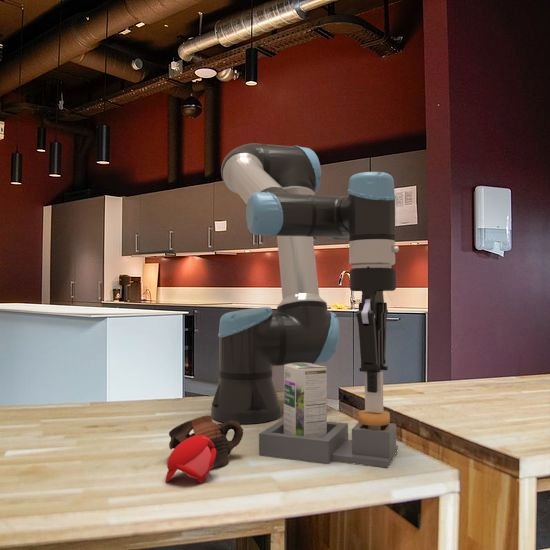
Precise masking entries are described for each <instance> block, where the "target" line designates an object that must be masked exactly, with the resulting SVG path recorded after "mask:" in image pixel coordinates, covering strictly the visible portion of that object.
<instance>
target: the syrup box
mask: <svg viewBox="0 0 550 550" xmlns="http://www.w3.org/2000/svg"><path fill="white" fill-rule="evenodd" d="M283 367H284V368H283V374H284V376H283V419H284V434H290V435H299V436H308V437H318V438H323V437H324V436H325V435H326V434H327V422H328V420H327V418H328V412H327V411H328V409H327V407H328V397H327V396H328V393H327V392H328V390H327V389H328V385H327V384H328V380H327V379H328V376H327V375H328V370H327V369H328V368H327V367H328V366H324V365H318V364H311V363H290V364H286V365H283Z"/></svg>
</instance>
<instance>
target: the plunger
mask: <svg viewBox="0 0 550 550" xmlns="http://www.w3.org/2000/svg"><path fill="white" fill-rule="evenodd" d="M390 414H391V413H390V412H389V411H388V410H384V409H383V412H382V413H376V412H365V409H362V410H358V422H359V423H361V424H365V425H368V429H374V430H381V427H380V426H382V425H387V424H389V423H391V422H390V421H391V419H390V417H391V415H390Z"/></svg>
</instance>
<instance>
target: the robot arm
mask: <svg viewBox="0 0 550 550" xmlns="http://www.w3.org/2000/svg"><path fill="white" fill-rule="evenodd" d="M220 167H221V168H220V174H221V179H222V181H223V183H224V184H225V186H226V187H227V188H228V190H230V191H231V192H233V193H235V194H238V195H239V197H240V198H241V199H242V201H243V202H244V204H246V209H245V219H246V220H245V221H246V222H245V223H246V225H247V230H248V231H249V232H250V233H251V234H252V235H254V236H256V235H257V236H265V237H267V238H268V237H269V238H271V237H276V239H277V251H278V263H279V274H280V287H281V297H282V300H281V302H280V303H278V305H277V306H276V313H275V312H273V309H272V307H269V306H267V307H266V306H264V307H262V306H261V307H253V308H247V309H246V308H245V309H240V310H239V309H238V310H234V311H230V312H226V313H224V314H222V315H221V316H220V318H219V319H220V320H219V326H218V327H219V329H218V334H217V337H218V338H219V339H218V340H219V341H218V343H219V345H218V349H219V350H218V353H219V354H218V361H219V362H218V364H219V365H218V366H219V367H218V371H219V373H218V374H219V375H218V384H217V388H216V391H215V394H214V397H213V400H212V403H211V407H210V410H211V412H210V416H211V418H212V420H215V421H217V422H221V423H224V422H227V421H231V420H234V421H237V422H238V423H239V424H240V425H241V424H245V425H246V424H247V425H248V424H258V423H267V422H271V421H274V420H277V419H279V418H280V417H281V414H282V413H281V411H282V410H281V409H282V408H281V403H280V399H279V397H278V393H277V390H276V388H275V387H276V386H275V384H274V380H273V367H276V366H277V367H278V366H284V365H286V364H290V363H311V364H315V365H318V364H325V363H328V362H330V361H331V360H332V359H333V357H334V356H335V354H336V352H337V350H338V346H339V343H340V322H339V319H338V316H337V314H336V313H334V312H332V311H328V303H327V301H326V300H324V299H323V297H322V298H321V296H320V289H319V282H318V272H317V264H316V263H317V261H316V253H315V246H314V238H328V239H331V240H343V241H345V240H348V244H349V245H348V247H349V248H348V249H349V250H348V252H349V253H348V255H349V256H348V257H349V258H348V263H349V265H350V266H352V268H351V269H350V270H349V290H350V291H351V292H361V299H360V301H361V302H359V303H358V310H356V311H357V312H356V317H357V318H356V320H357V323H358V324H357V325H358V326H357V327H358V336H359V338H358V339H359V351H360V367H359V370H358V371H359V372H364V410H365V412H376V413H382V412H383V410H384V371H389V370H388V367H389V366H387V365H386V348H387V347H386V346H387V343H386V342H387V321H388V313H389V311H388V304H387V302H385V299H384V292H394V291H395V290H396V289H397V270H395V268H394V267H392V266H394V265H395V264H396V254H395V253H398V252H399V251H400V247H399V246H397V245H396V199H397V198H396V197H397V196H396V194H395V180H394V177H393V175H391V174H389V173H386V172H384V171H383V172H382V171H364V172H358V173H355V174H353V175H351V176H350V178H349V180H348V187H347V193H348V194H346V195H341V196H339V195H320V194H318V195H317V193H318V191H319V189H320V187H321V181H322V179H321V177H322V168H321V163H320V160H319V157H318V155H317V154H316V152H315V151H314V150H312V149H311V148H309V147H303V146H299V145H280V144H278V145H277V144H269V143H267V144H266V143H257V142H256V143H255V142H252V143H251V142H250V143H247V144H246V143H245V144H243V145H240V146H238V147H237V146H236V147H235V148H234V149H232V150H230V151H229V153H227V155H226V156H225V157H224V158H223V160H222V164H221V166H220Z"/></svg>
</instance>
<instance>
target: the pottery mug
mask: <svg viewBox="0 0 550 550" xmlns="http://www.w3.org/2000/svg"><path fill="white" fill-rule="evenodd" d="M192 430H193V433H191V431H192ZM231 430H233V436H232V438H231V440H228V438H227V436H228V434H229V431H231ZM190 433H191V434H190ZM195 435H205V436H207V437H208V438H209V439H210V441H212V443H213V444H214V448H215V449H216V457H215V460H214V463H213V465H212V467H211V469H213V468H214V467H217V466H218V467H219V466H223V465H226V464H229V462H230V461H229V456H230V455H231V453H232V451H233V450H234V448H236V447H238V445H240V443H241V441H242V439H243V436H244V429H243V427H242V425H241V424H239V423H238V422H237V421H234V420H231V421H227V422H221V423H217V422H214V421H213V418H212V417H211V415H208V414H207V415H203V416H199V417H195V418H193V419H191V420H187V421H185V422H183V423H181V424H179V425H177V426H175V427H173V429H172V428H171V430H170V431H168V436H169V437H170V441H169V442H168V443H169V444H168V448H169V450H174V449H175V448H176V447H177V446H178V445H179V444H180V443H181V442H182V441H184V440H186V439H187V438H189V437H192V436H195Z"/></svg>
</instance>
